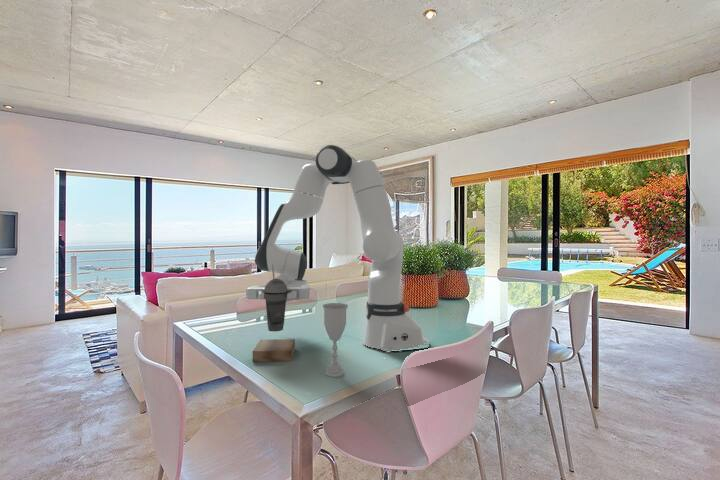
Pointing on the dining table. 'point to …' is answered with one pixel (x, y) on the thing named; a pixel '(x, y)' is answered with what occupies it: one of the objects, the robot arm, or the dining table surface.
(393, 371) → the dining table surface
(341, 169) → the robot arm
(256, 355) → the walnut plinth
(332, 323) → the chalice
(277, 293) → the beverage cup
